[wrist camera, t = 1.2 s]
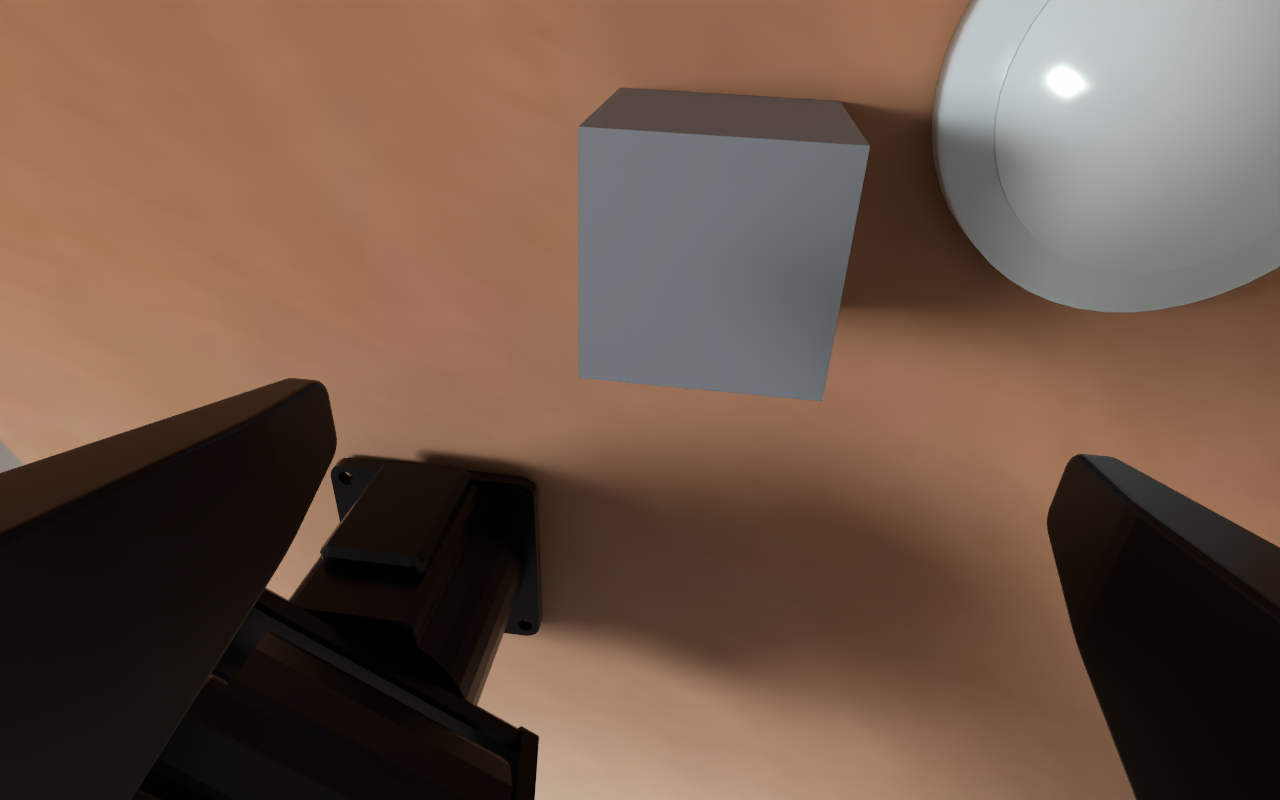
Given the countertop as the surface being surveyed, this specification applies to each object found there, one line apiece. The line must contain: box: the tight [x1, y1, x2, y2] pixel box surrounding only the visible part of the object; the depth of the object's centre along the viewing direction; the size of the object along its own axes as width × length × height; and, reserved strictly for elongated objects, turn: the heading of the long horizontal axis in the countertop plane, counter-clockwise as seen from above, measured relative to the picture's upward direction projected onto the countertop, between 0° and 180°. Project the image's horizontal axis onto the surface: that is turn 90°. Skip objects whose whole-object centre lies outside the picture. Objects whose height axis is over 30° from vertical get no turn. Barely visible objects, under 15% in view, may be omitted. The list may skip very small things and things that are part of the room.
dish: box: [931, 0, 1280, 313], centre depth 15 cm, size 9×9×1 cm
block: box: [579, 88, 870, 401], centre depth 16 cm, size 5×5×5 cm
